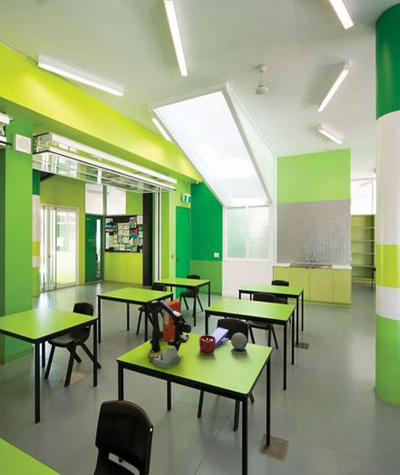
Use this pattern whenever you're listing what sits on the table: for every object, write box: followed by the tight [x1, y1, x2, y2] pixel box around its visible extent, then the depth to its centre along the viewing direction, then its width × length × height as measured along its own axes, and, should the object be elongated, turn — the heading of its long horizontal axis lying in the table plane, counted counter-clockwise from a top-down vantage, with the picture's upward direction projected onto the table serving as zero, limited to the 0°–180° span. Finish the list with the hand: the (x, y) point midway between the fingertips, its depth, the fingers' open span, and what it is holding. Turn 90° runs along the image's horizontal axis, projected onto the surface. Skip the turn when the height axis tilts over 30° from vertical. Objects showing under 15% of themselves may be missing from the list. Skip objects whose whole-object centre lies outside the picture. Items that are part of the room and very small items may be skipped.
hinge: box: [159, 346, 180, 362], centre depth 201 cm, size 17×5×10 cm, turn 147°
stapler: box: [207, 327, 229, 350], centre depth 238 cm, size 12×28×10 cm, turn 148°
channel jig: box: [153, 355, 181, 370], centre depth 198 cm, size 11×16×4 cm
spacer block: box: [148, 352, 160, 363], centre depth 201 cm, size 5×5×4 cm
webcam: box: [230, 332, 248, 356], centre depth 221 cm, size 13×13×15 cm
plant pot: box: [198, 334, 216, 356], centre depth 217 cm, size 13×13×12 cm
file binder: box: [161, 299, 182, 342], centre depth 249 cm, size 8×17×32 cm, turn 150°
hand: (177, 351), depth 209 cm, fingers closed
